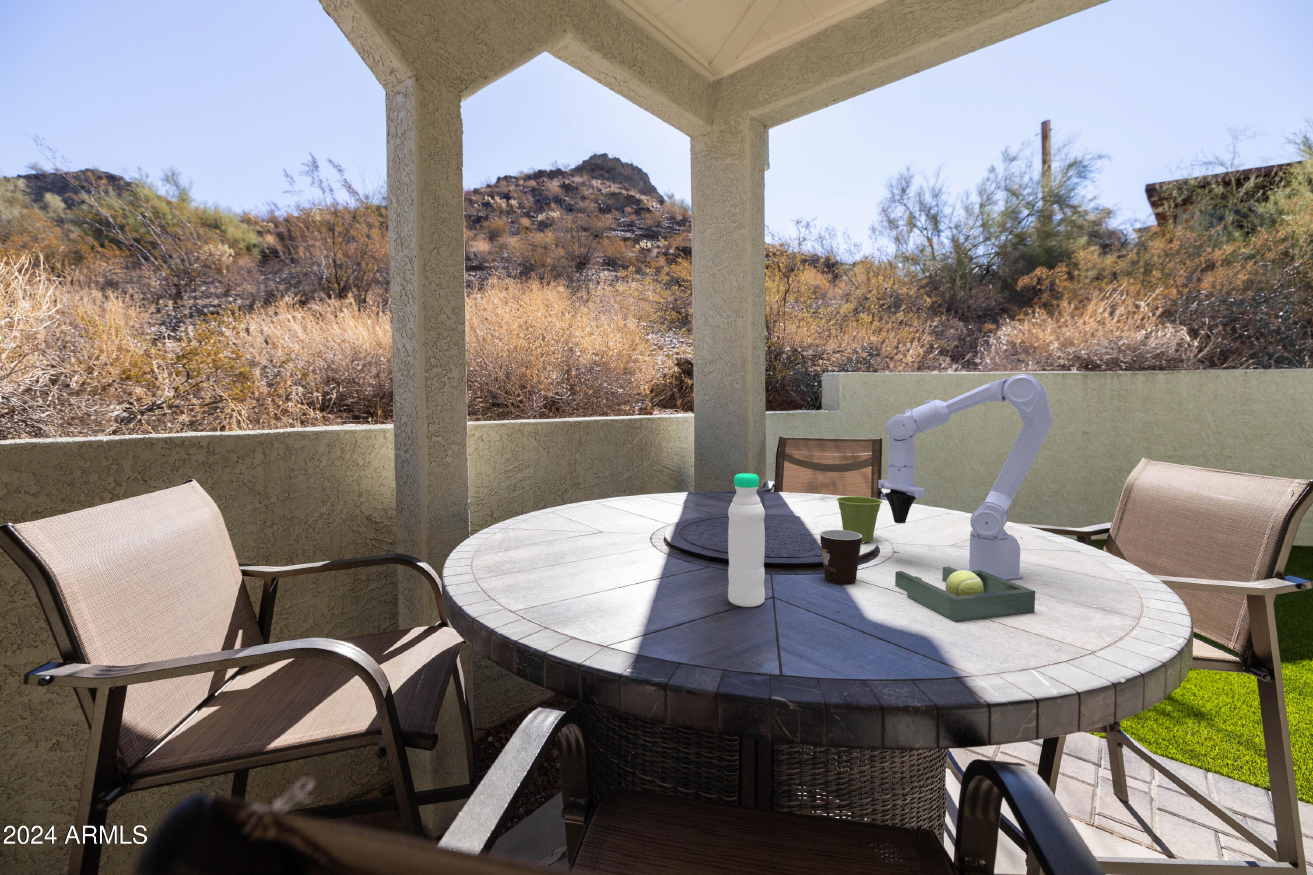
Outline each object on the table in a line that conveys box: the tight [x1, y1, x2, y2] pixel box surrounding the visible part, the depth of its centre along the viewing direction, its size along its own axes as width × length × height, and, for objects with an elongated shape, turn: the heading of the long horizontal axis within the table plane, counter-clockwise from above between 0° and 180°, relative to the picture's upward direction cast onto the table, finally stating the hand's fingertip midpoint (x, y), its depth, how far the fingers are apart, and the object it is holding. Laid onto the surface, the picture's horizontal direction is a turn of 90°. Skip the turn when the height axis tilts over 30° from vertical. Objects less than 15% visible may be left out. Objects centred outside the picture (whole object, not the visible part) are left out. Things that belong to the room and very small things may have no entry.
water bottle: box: [727, 472, 766, 608], centre depth 113 cm, size 7×7×25 cm
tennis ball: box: [944, 569, 984, 596], centre depth 112 cm, size 6×7×7 cm
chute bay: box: [894, 566, 1036, 623], centre depth 114 cm, size 17×20×4 cm
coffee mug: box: [819, 529, 862, 586], centre depth 127 cm, size 12×9×10 cm
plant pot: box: [836, 495, 883, 544], centre depth 158 cm, size 12×12×11 cm
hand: (899, 522), depth 138 cm, fingers closed
